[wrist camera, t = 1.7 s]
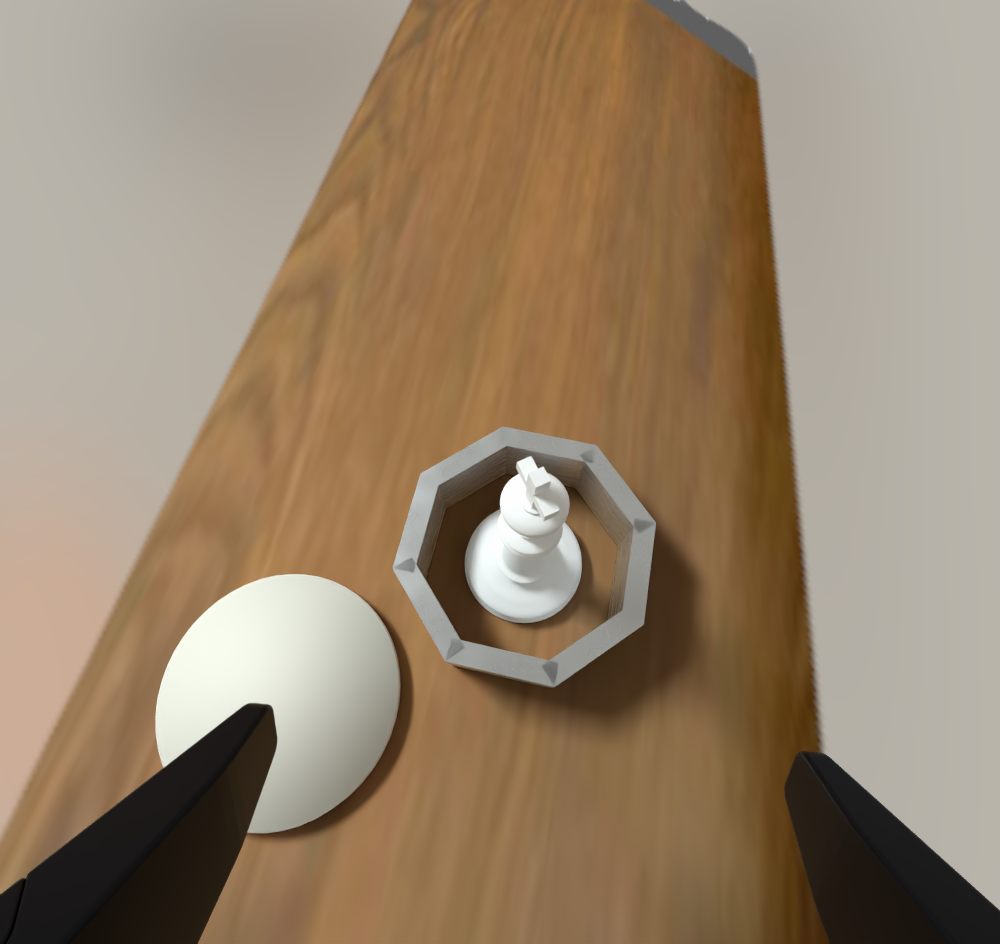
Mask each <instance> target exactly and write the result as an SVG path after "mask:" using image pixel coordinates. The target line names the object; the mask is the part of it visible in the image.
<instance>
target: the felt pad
mask: <svg viewBox="0 0 1000 944" xmlns="http://www.w3.org/2000/svg"><path fill="white" fill-rule="evenodd" d="M400 690H401V684H400V669H399V663H398V657H397V653H396V650H395V647H394V643H393V641H392V638H391V636H390V634H389V632H388V630H387V628H386V626H385V625H384V623H383V622H382V620H381V618H380V617H379V616H378V614H377V613H376V612H375V611H374V610H373V609H372V607H371V606H370V605H369V604H368V603H366V602H365V601H364V600H363V599H362V598H361V597H360V596H358V595H357V594H355V593H354V592H352V591H350V590H349V589H347V588H346V587H344V586H342V585H340V584H338V583H336V582H333V581H331V580H328V579H324V578H321V577H317V576H311V575H304V574H287V575H278V576H272V577H268V578H264V579H260V580H257V581H254V582H252V583H249V584H246V585H244V586H242V587H240V588H238V589H236V590H234V591H232V592H231V593H229V594H228V595H226V596H225V597H223V598H222V599H220V600H219V601H217V602H216V603H215V604H214V605H212V606H211V607H210V608H209V609H208V610H206V611H205V612H204V613H203V614H202V615H201V616H200V617H199V619H198V620H197V621H196V622H195V623H194V624H193V625H192V626H191V628H190V629H189V630H188V631H187V633H186V634H185V635H184V637H183V638H182V640H181V641H180V643H179V645H178V646H177V648H176V649H175V651H174V653H173V655H172V657H171V659H170V661H169V663H168V665H167V668H166V671H165V674H164V676H163V679H162V682H161V686H160V690H159V695H158V699H157V708H156V738H157V745H158V751H159V754H160V758H161V762H162V765H163V767H165V766H166V765H168V764H169V763H170V762H172V761H173V760H174V759H176V758H177V757H178V756H179V755H181V754H182V753H183V752H184V751H186V750H187V749H188V748H190V747H191V746H192V745H193V744H195V743H196V742H197V741H199V740H200V739H201V738H202V737H204V736H205V735H206V734H208V733H209V732H210V731H211V730H213V729H214V728H215V727H217V726H218V725H219V724H220V723H222V722H223V721H224V720H226V719H227V718H228V717H229V716H231V715H232V714H233V713H235V712H236V711H237V710H238V709H240V708H241V707H242V706H244V705H246V704H248V703H260V704H269V705H271V706H272V708H273V711H274V717H275V724H276V731H277V748H276V752H275V755H274V758H273V761H272V764H271V766H270V769H269V772H268V775H267V778H266V781H265V784H264V786H263V789H262V792H261V795H260V798H259V801H258V803H257V806H256V809H255V812H254V815H253V818H252V821H251V823H250V826H249V829H248V832H247V833H271V832H279V831H284V830H287V829H291V828H295V827H298V826H301V825H303V824H305V823H308V822H310V821H312V820H315V819H316V818H318V817H320V816H321V815H323V814H325V813H327V812H328V811H330V810H331V809H333V808H334V807H336V806H337V805H338V804H340V803H341V802H342V801H343V800H345V799H346V798H347V797H348V796H350V795H351V794H352V793H353V792H354V791H355V790H356V789H357V788H358V787H359V786H360V785H361V784H362V783H363V781H364V780H365V779H366V778H367V776H368V775H369V774H370V773H371V771H372V770H373V769H374V767H375V766H376V764H377V762H378V761H379V759H380V757H381V756H382V754H383V752H384V750H385V748H386V746H387V744H388V741H389V739H390V737H391V734H392V731H393V728H394V725H395V722H396V718H397V713H398V708H399V702H400Z"/></svg>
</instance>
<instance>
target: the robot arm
mask: <svg viewBox="0 0 1000 944" xmlns="http://www.w3.org/2000/svg"><path fill="white" fill-rule="evenodd" d="M276 748H277V731H276V724H275V717H274V711H273V708H272V706H271V705H269V704H260V703H248V704H246V705H244V706H242V707H241V708H240V709H238V710H237V711H236V712H235V713H233V714H232V715H231V716H229V717H228V718H227V719H226V720H224V721H223V722H222V723H220V724H219V725H218V726H217V727H215V728H214V729H213V730H211V731H210V732H209V733H208V734H206V735H205V736H204V737H202V738H201V739H200V740H199V741H197V742H196V743H195V744H193V745H192V746H191V747H190V748H188V749H187V750H186V751H184V752H183V753H182V754H181V755H179V756H178V757H177V758H176V759H174V760H173V761H172V762H170V763H169V764H168V765H166V766H165V767H164V768H163V769H161V770H160V771H159V772H157V773H156V774H155V775H154V776H152V777H151V778H150V779H149V780H147V781H146V782H145V783H143V784H142V785H141V786H140V787H138V788H137V789H136V790H134V791H133V792H132V793H131V794H129V795H128V796H127V797H125V798H124V799H123V800H122V801H120V802H119V803H118V804H116V805H115V806H114V807H113V808H111V809H110V810H109V811H107V812H106V813H105V814H104V815H102V816H101V817H100V818H98V819H97V820H96V821H95V822H93V823H92V824H91V825H89V826H88V827H87V828H86V829H84V830H83V831H82V832H80V833H79V834H78V835H77V836H75V837H74V838H73V839H71V840H70V841H69V842H68V843H66V844H65V845H64V846H62V847H61V848H60V849H59V850H57V851H56V852H55V853H53V854H52V855H51V856H50V857H48V858H47V859H46V860H44V861H43V862H42V863H41V864H39V865H38V866H37V867H35V868H34V869H33V870H32V871H30V872H29V873H28V875H27V877H26V878H21V879H20V880H18V881H17V882H16V883H14V884H13V885H12V886H11V887H9V888H8V889H7V890H5V891H4V892H3V893H2V894H0V944H198V942H199V940H200V937H201V935H202V933H203V931H204V929H205V927H206V924H207V922H208V920H209V918H210V916H211V914H212V911H213V909H214V907H215V905H216V903H217V901H218V898H219V896H220V894H221V892H222V890H223V888H224V885H225V883H226V881H227V879H228V877H229V875H230V872H231V870H232V868H233V866H234V864H235V862H236V859H237V857H238V855H239V852H240V850H241V848H242V845H243V843H244V840H245V837H246V835H247V832H248V829H249V826H250V823H251V821H252V818H253V815H254V812H255V809H256V806H257V803H258V801H259V798H260V795H261V792H262V789H263V786H264V784H265V781H266V778H267V775H268V772H269V769H270V766H271V764H272V761H273V758H274V755H275V752H276ZM785 799H786V803H787V806H788V810H789V813H790V817H791V821H792V824H793V828H794V832H795V835H796V839H797V843H798V846H799V850H800V853H801V857H802V861H803V864H804V868H805V872H806V875H807V879H808V883H809V886H810V889H811V893H812V896H813V899H814V902H815V905H816V908H817V911H818V914H819V917H820V919H821V922H822V925H823V927H824V930H825V933H826V935H827V938H828V941H829V943H830V944H1000V910H999V909H998V908H996V907H995V906H994V905H993V904H992V903H991V902H990V901H989V900H988V899H986V898H985V897H984V896H983V895H982V894H981V893H980V892H979V891H978V890H976V889H975V888H974V887H973V886H972V885H971V884H970V883H969V882H967V881H966V880H965V879H964V878H963V877H962V876H961V875H960V874H959V873H958V872H956V871H955V870H954V869H953V868H952V867H951V866H950V865H949V864H948V863H946V862H945V861H944V860H943V859H942V858H941V857H940V856H939V855H938V854H936V853H935V852H934V851H933V850H932V849H931V848H930V847H929V846H927V845H926V844H925V843H924V842H923V841H922V840H921V839H920V838H919V837H917V835H915V834H914V833H913V832H912V831H911V830H910V829H909V828H908V827H906V826H905V825H904V824H903V823H902V822H901V821H900V820H899V819H898V818H897V817H895V816H894V815H893V814H892V813H891V812H890V811H889V810H888V809H886V808H885V807H884V806H883V805H882V804H881V803H880V802H879V801H878V800H877V799H875V798H874V797H873V796H872V795H871V794H870V793H869V792H868V791H867V790H865V789H864V788H863V787H862V786H861V785H860V784H859V783H858V782H857V781H855V780H854V779H853V778H852V777H851V776H850V775H849V774H848V773H847V772H845V771H844V770H843V769H842V768H841V767H840V766H839V765H838V764H836V763H835V762H834V761H833V760H832V759H831V758H830V757H828V756H827V755H825V754H823V753H818V752H807V751H801V752H799V753H798V754H796V756H795V759H794V761H793V764H792V767H791V769H790V772H789V774H788V777H787V780H786V782H785Z"/></svg>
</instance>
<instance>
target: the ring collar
mask: <svg viewBox="0 0 1000 944" xmlns="http://www.w3.org/2000/svg"><path fill="white" fill-rule="evenodd" d="M530 456H532V458H533V460H534V462H535V464H536V466H537V468H538V469H539V468H541V467H544V469H545V470H546V472H547V473H549V474H551V475H553V476H554V477H556V478H557V479H558V480H559V481H560V482H561V483H562V484H563V485H564V486H568V487H573V488H575V489H576V490H577V491H578V493H579V494H580V495H581V497H582V498H583V500H584V501H585V502H586V504H587V505H588V506H589V508H590V509H591V510H592V512H593V513H594V515H595V516H596V517H597V519H598V520H599V521H600V523H601V524H602V526H603V527H604V528H605V530H606V531H607V532H608V534H609V535H610V536H611V538H612V539H613V541H614V542H615V543H616V545H617V546H618V548H617V555H616V562H615V569H614V576H613V582H612V589H611V596H610V603H609V610H608V617H607V621H605V622H604V623H603V624H601V625H600V626H598V627H597V628H595V629H594V630H592V631H591V632H589V633H588V634H587V635H585V636H584V637H582V638H581V639H579V640H578V641H576V642H575V643H573V644H572V645H571V646H569V647H568V648H566V649H565V650H563V651H562V652H560V653H559V654H557V655H556V656H555V657H553V658H552V659H550V660H545V659H540V658H536V657H532V656H528V655H523V654H519V653H515V652H510V651H506V650H502V649H497V648H493V647H489V646H485V645H480V644H476V643H472V642H467V641H463V640H461V638H460V637H459V635H458V633H457V632H456V630H455V628H454V626H453V625H452V623H451V621H450V620H449V618H448V616H447V614H446V613H445V611H444V609H443V608H442V606H441V604H440V603H439V601H438V599H437V597H436V596H435V594H434V592H433V591H432V589H431V587H430V585H429V584H428V582H427V580H426V578H427V575H428V571H429V567H430V564H431V560H432V556H433V553H434V549H435V545H436V542H437V538H438V534H439V531H440V527H441V523H442V520H443V516H444V512H445V509H447V508H448V507H450V506H452V505H454V504H455V503H457V502H459V501H460V500H462V499H464V498H465V497H467V496H469V495H470V494H472V493H474V492H476V491H477V490H479V489H481V488H482V487H484V486H486V485H487V484H489V483H491V482H492V481H494V480H496V479H497V478H499V477H501V476H503V475H504V474H510V475H515V476H516V475H518V474H519V473H518V471H517V469H516V465H517V462H518V461H520V460H523V459H525V458H527V457H530ZM655 528H656V522H655V521H654V520H653V518H652V517H651V516H650V514H649V513H648V512H647V510H646V509H645V508H644V507H643V505H642V504H641V503H640V501H639V500H638V499H637V497H636V496H635V495H634V494H633V492H632V491H631V490H630V488H629V487H628V486H627V485H626V483H625V482H624V481H623V479H622V478H621V477H620V475H619V474H618V473H617V472H616V470H615V469H614V468H613V466H612V465H611V464H610V462H609V461H608V460H607V459H606V457H605V456H604V455H603V453H602V452H601V451H600V449H599V448H598V447H597V446H596V445H592V444H587V443H582V442H578V441H573V440H568V439H563V438H558V437H553V436H548V435H543V434H538V433H533V432H528V431H523V430H518V429H513V428H508V427H501V428H500V429H498V430H496V431H494V432H493V433H491V434H489V435H487V436H486V437H484V438H482V439H480V440H478V441H477V442H475V443H473V444H471V445H470V446H468V447H466V448H464V449H463V450H461V451H459V452H457V453H456V454H454V455H452V456H450V457H449V458H447V459H445V460H443V461H442V462H440V463H438V464H436V465H435V466H433V467H431V468H429V469H428V470H426V471H424V472H422V473H421V474H420V477H419V481H418V484H417V487H416V491H415V494H414V498H413V501H412V504H411V508H410V511H409V514H408V518H407V521H406V525H405V528H404V531H403V535H402V538H401V541H400V545H399V548H398V551H397V555H396V558H395V562H394V565H393V570H394V572H395V574H396V575H397V577H398V579H399V581H400V582H401V584H402V586H403V588H404V589H405V591H406V593H407V595H408V596H409V598H410V600H411V602H412V604H413V605H414V607H415V609H416V611H417V612H418V614H419V616H420V618H421V619H422V621H423V623H424V625H425V626H426V628H427V630H428V632H429V634H430V635H431V637H432V639H433V641H434V642H435V644H436V646H437V648H438V649H439V651H440V653H441V655H442V656H443V658H444V660H445V661H446V662H447V663H449V664H451V665H453V666H457V667H462V668H466V669H470V670H474V671H479V672H483V673H487V674H491V675H495V676H500V677H504V678H508V679H512V680H516V681H521V682H525V683H529V684H533V685H538V686H542V687H546V688H551V687H556V686H557V685H559V684H560V683H561V682H563V681H564V680H566V679H567V678H569V677H570V676H571V675H573V674H574V673H576V672H577V671H579V670H580V669H581V668H583V667H584V666H586V665H587V664H588V663H590V662H591V661H593V660H594V659H596V658H597V657H598V656H600V655H601V654H603V653H604V652H606V651H607V650H608V649H610V648H611V647H613V646H614V645H616V644H617V643H618V642H620V641H621V640H623V639H624V638H626V637H627V636H628V635H630V634H631V633H633V632H634V631H636V630H637V629H638V628H640V627H641V626H643V625H644V619H645V611H646V602H647V594H648V586H649V578H650V569H651V561H652V553H653V544H654V536H655Z"/></svg>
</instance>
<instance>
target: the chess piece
mask: <svg viewBox="0 0 1000 944" xmlns="http://www.w3.org/2000/svg"><path fill="white" fill-rule="evenodd" d="M516 469H517V471H518V473H519V474H518V475H516V476H514V477H513V478H512V479H511V480H509V481H508V483H507V484H506V485H505V487H504V489H503V491H502V493H501V497H500V509H499V510H497V511H495V512H494V513H492V514H490V515H489V516H488V517H486V518H485V519H484V520H483V521H482V522H481V523H480V524H479V525H478V527H477V528H476V529H475V531H474V533H473V534H472V536H471V538H470V541H469V543H468V546H467V549H466V554H465V574H466V579H467V582H468V585H469V587H470V590H471V591H472V593H473V595H474V596H475V598H476V599H477V601H478V602H479V603H480V604H481V605H482V606H483V607H484V608H485V609H486V610H488V611H489V612H490V613H492V614H493V615H495V616H497V617H499V618H501V619H504V620H507V621H511V622H516V623H532V622H537V621H541V620H544V619H547V618H549V617H551V616H553V615H555V614H556V613H558V612H559V611H560V610H561V609H563V608H564V607H565V606H566V605H567V604H568V602H569V601H570V600H571V598H572V597H573V595H574V594H575V592H576V590H577V587H578V585H579V582H580V578H581V571H582V558H581V551H580V547H579V544H578V541H577V539H576V537H575V535H574V533H573V532H572V530H571V529H570V528H569V526H568V525H567V524H566V523H565V520H566V518H567V516H568V513H569V508H570V501H569V496H568V493H567V491H566V489H565V487H564V485H563V484H562V483H561V482H560V481H559V480H558V479H557V478H556V477H554V476H553V475H551V474H549V473H547V472H546V470H545V469H544V467H541V468H539V469H538V468H537V466H536V464H535V462H534V460H533V458H532V456H530V457H527V458H525V459H523V460H520V461H518V462H517V465H516Z"/></svg>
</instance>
